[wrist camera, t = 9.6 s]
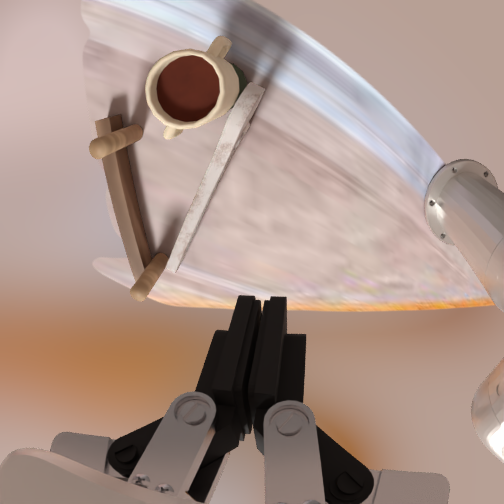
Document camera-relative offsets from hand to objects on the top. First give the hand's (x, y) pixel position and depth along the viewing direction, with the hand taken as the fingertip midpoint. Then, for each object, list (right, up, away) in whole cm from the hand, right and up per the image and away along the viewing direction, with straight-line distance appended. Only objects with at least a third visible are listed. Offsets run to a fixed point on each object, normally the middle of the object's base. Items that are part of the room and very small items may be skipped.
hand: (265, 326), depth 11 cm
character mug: (-4, +23, +22) cm, 32 cm away
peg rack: (-17, +10, +31) cm, 37 cm away
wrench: (-6, +12, +29) cm, 32 cm away
